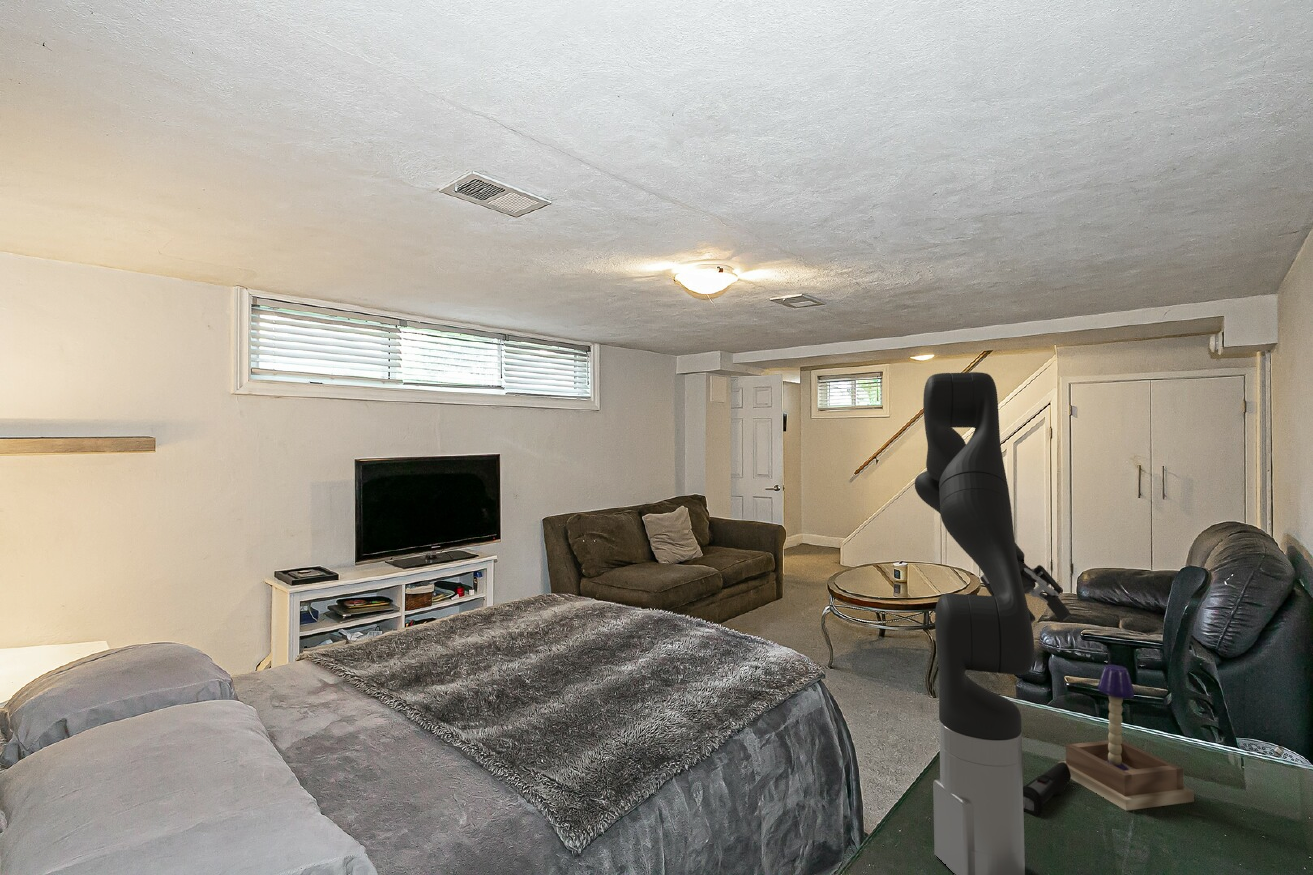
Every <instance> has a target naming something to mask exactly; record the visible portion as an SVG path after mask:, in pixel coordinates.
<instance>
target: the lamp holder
mask: <svg viewBox="0 0 1313 875" xmlns="http://www.w3.org/2000/svg"><path fill="white" fill-rule="evenodd" d="M1108 744H1109V739H1107V740H1099V741H1087V742H1080V743H1079V742H1078V743H1069V744H1065V760H1061V761H1058V762H1057V764H1058V763H1060V762H1064V763H1066V764H1067V766H1068V768H1069V770H1070V774H1071V778H1070V780H1072V781H1074V782H1075V783H1078V784H1079V785H1081V786H1083V787H1084V788H1086V789H1088V790H1090V791H1092V792H1093V793H1095V794H1096V793H1097V795H1098V796H1100V797H1102V798H1103V797H1104V799H1105V800H1107V801H1108V802H1111V803H1112V804H1114V805H1115V806H1118V807H1119V808H1120V809H1122V810H1124V811H1133V810H1141V809H1147V808H1148V809H1149V808H1157V807H1162V806H1172V805H1179V804H1188V803H1194V802H1195V796H1194V794H1195V792H1194V790H1192V789H1189V787H1186V786H1184V768H1183V767H1181V766H1179V765H1176V764H1174V763H1172V762H1169V761H1168V760H1165V759H1164V758H1161V757H1159V756H1157V755H1155V754H1153V753H1151V752H1148V751H1146V750H1144V749H1142V748H1140V747H1137V746H1136V745H1134V744H1131V743H1129V742H1126V741H1125V740H1123V739H1122V743H1121V747H1122V753H1121V754H1120V755H1121V757H1122V762H1121V764H1123V765H1125V766H1126V767H1127V768H1128V769H1129V770H1126V771H1123V770H1121V769H1119V768H1118V767H1116V766H1114V765H1112V764H1110V763H1108V762H1106V761H1109V760H1108V754H1109V750H1108Z"/></svg>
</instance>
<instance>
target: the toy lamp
mask: <svg viewBox="0 0 1313 875" xmlns="http://www.w3.org/2000/svg"><path fill="white" fill-rule="evenodd" d="M1097 689H1098V692H1100V693H1102V694H1104V695H1107V696H1108V700H1109V703H1108V711H1109V713H1108V720H1109V722H1108V724H1107V725H1108V727H1107V728H1108V731H1109V733H1108V734H1107V738H1108V739H1107V740H1109V744H1108V750H1109V754H1108V760H1109V761H1106V762H1108V763H1110V764H1112V765H1114V766H1116V767H1118V768H1119V769H1121V770H1123V771H1126V770H1129V769H1128V768H1127V767H1126V766H1125V765H1123V764H1121V762H1122V757H1121V755H1120V754H1121V753H1122V747H1121V743H1122V740H1123V737H1122V734H1123V726H1122V723H1123V716H1122V713H1123V706H1122V703H1123V702H1124V699H1133V698H1134V697H1135V690H1134V687H1133V683H1132V679H1131V677H1130V673H1129V670H1128V668H1126V667H1124V666H1121V665H1116V664H1106V665H1104V667H1103V669H1102V672H1101V675H1100V677H1099V681H1098V684H1097Z"/></svg>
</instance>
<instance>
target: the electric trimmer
mask: <svg viewBox="0 0 1313 875" xmlns="http://www.w3.org/2000/svg"><path fill="white" fill-rule="evenodd" d="M1059 762H1060V763H1058V762H1057V764H1056V765H1054V766H1053V767H1051V768H1050V769H1048V770H1047V771H1045V772H1044V773H1043V774H1042V775H1039V776H1037V777H1035V778H1034V779H1033V780H1031V781H1029V782H1028V783H1027V784H1025V785H1023V813H1024V814H1028V815H1031V816H1033V817H1036V816H1039V817H1040V816H1041V814H1042V812H1043V810H1044V805H1045V804H1046V803H1047V801H1049V800H1050V799H1051V798H1052V797H1054V796H1055V797H1056V796H1058V797H1059V796H1061V795H1062V794H1063V792H1064V791H1065V790H1066V787H1067V786H1068V784H1069V783H1070V780H1071V774H1070V770H1069V768H1068V766H1067V764H1066V763H1064V762H1061V761H1059Z"/></svg>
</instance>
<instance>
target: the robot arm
mask: <svg viewBox="0 0 1313 875" xmlns="http://www.w3.org/2000/svg"><path fill="white" fill-rule="evenodd" d="M997 390H998V389H997V385H996V383H995V381H994V378H993V377H992V376H991V374H989V373H986V372H982V371H981V372H979V371H978V372H977V371H970V372H968V371H967V372H942V373H941V372H940V373H935V374H932V375H930V376H928V378H927V380H926V382H925V385H924V389H923V406H922V407H923V420H924V421H923V422H924V430H925V437H926V441H927V442H926V444H927V452H926V462H925V467H926V470H925V471H923V472H921V473H919V474H918V475H917V476H916V477H915V480H914V489H915V491H916V494H917V495H918V497H919V498H920V499H921V500H922V501H923V502H924V503H926V504H927V505H928V506H929V507H930V508H932V509H933V510H935V511H936V512H937V513H938V514H940V517H941V518H940V519H941V522H942V524H943V526H944V528H945V529H946V531H947V532H948V534H949V535H950V536H951V538H953V540H954V541H955V542H956V543H957V544H958V546H959V547H960V548H961V549H962V550H963V551H964V552H965V553H966V554H967V555H968V557H970V558H971V559H972V561H973V562H974V563H975V564H976V565H977V566H978V568H979V569H980V571H981V572H982V576H980V581H981V582H982V584H983V585H984V587H985V588H986V590H987V591H988V594H989V595H981V594H964V593H944V594H942V595H940V596H939V598H938V600H937V602H936V606H935V611H934V612H935V613H934V627H935V628H934V629H935V641H936V642H935V645H936V646H935V647H936V656H937V668H938V721H939V722H938V724H939V725H938V726H939V729H938V730H939V778H938V779H934V780H933V784H932V786H933V788H932V789H933V791H932V793H933V796H932V797H933V833H934V834H933V836H934V839H933V840H934V841H933V842H934V847H933V848H934V856H935V855H936V856H937V857H938V858H939V859H940V860H942V862H943V863H944V864H946V866H947V867H948V868H949V869H950V870H951V871H952V872H953V873H955V874H956V875H1026V873H1025V872H1026V867H1025V863H1026V860H1025V828H1024V827H1025V825H1024V824H1025V823H1024V821H1025V820H1024V812H1023V787H1024V784H1023V782H1024V779H1023V778H1024V777H1023V740H1022V739H1023V734H1022V715H1021V710H1020V709H1019V707H1018V706H1017V705H1016V704H1015V703H1014V702H1012V701H1011V700H1010V699H1008V698H1006V697H1004V696H1003V695H1000V694H997V693H995V692H993V691H991V690H988V689H986V688H984V687H983V686H981V685H979V684H978V683H977V682H975V681H973V680H972V679H971V678H969V676H967V674H966V671H972V672H973V671H975V672H983V673H985V672H986V673H992V674H995V673H996V674H997V673H998V674H1002V675H1015V676H1016V675H1024V674H1026V673H1028V672H1030V670H1031V669H1032V667H1033V665H1034V661H1035V638H1034V637H1035V636H1034V630H1033V626H1032V624H1033V623H1034V622H1035V621H1036V617H1035V615H1034V614H1033V612H1032V611H1031V610H1030V608H1029V606H1028V602H1027V597H1026V594H1029V596H1032V597H1033V598H1039V599H1040V600H1042V601H1043V602H1045V603H1046V605H1047V606H1048V608H1049V610H1051V612H1052V613H1053V614H1054V615H1055V616H1056V618H1057V619H1058V620H1059V621H1060V622H1063V621H1066V620H1067V619H1068V618H1070V617H1071V612H1070V610H1069V609H1068V608H1067V606H1066V605H1065V604H1064V603H1063V602H1062V600H1061V599H1060V598H1059V595H1061V594H1062V593H1063V592H1064V589H1063V588H1062V587H1061V586H1060V584H1059V583H1058V582H1057V581H1056V580H1055V579H1054V578H1053V576H1052V575H1051V574H1050V573H1049V572H1048V571H1047V570H1046V569H1045V567H1044V566H1043V565H1040V564H1038V565H1037V566H1036V567H1035V568H1031V567H1030V566H1028V565H1027V564H1026V562H1025V552H1023V550H1022V549H1021V548H1020V546H1018V544H1017V543H1016V542H1015V531H1014V523H1013V522H1014V520H1013V513H1012V512H1013V511H1012V504H1011V498H1010V496H1011V495H1010V491H1009V485H1008V479H1007V474H1006V470H1005V469H1006V468H1005V464H1004V459H1003V453H1002V446H1001V445H1002V444H1001V432H1000V431H1001V430H1000V416H999V399H998V398H999V397H998V391H997ZM955 428H956V429H957V428H964V429H965V428H972V429H973V428H974V430H973V433H972V435H971V437H970V439H969V440H968V441H967V443H966V441H965V439H964V437H963V436H961V434H960V433H959V432H958V431H957V430H955ZM1036 584H1037V586H1036ZM1050 586H1051V587H1050ZM1043 592H1044V593H1045V594H1044V593H1043ZM936 856H935V857H936ZM937 857H936V858H937ZM938 858H937V859H938ZM939 859H938V860H939ZM940 860H939V861H940ZM942 862H941V863H942ZM943 863H942V864H943ZM944 864H943V865H944ZM946 866H945V867H946ZM947 867H946V868H947ZM948 868H947V869H948ZM949 869H948V870H949ZM950 870H949V871H950ZM951 871H950V872H951ZM952 872H951V873H952ZM953 873H952V874H953ZM955 874H954V875H955Z"/></svg>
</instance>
